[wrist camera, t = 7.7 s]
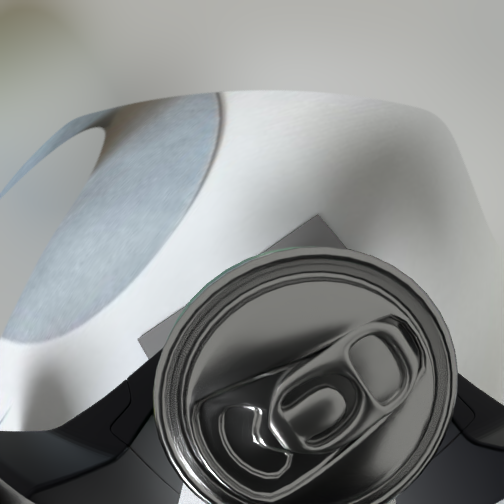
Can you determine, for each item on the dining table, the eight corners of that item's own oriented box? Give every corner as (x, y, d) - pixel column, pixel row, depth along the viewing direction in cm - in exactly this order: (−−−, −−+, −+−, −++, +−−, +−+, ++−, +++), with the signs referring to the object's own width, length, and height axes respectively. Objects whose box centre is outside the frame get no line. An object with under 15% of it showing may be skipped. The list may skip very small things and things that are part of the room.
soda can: (219, 345, 15) (75, 336, 3) (297, 296, 15) (356, 163, 4) (268, 419, 13) (253, 578, 2) (346, 370, 14) (508, 407, 2)
